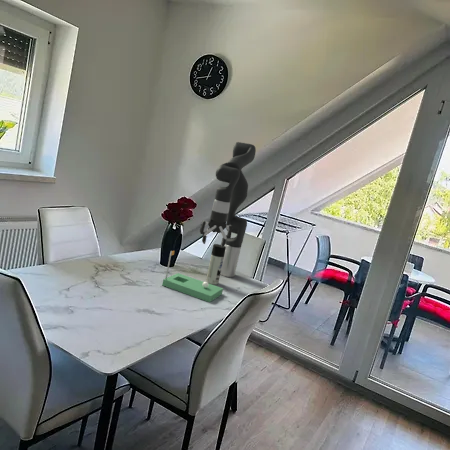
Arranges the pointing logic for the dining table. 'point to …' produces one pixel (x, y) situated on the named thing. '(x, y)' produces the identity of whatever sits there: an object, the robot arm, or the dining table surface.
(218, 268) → the spray can
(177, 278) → the putting green
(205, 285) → the ball
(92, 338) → the dining table surface
